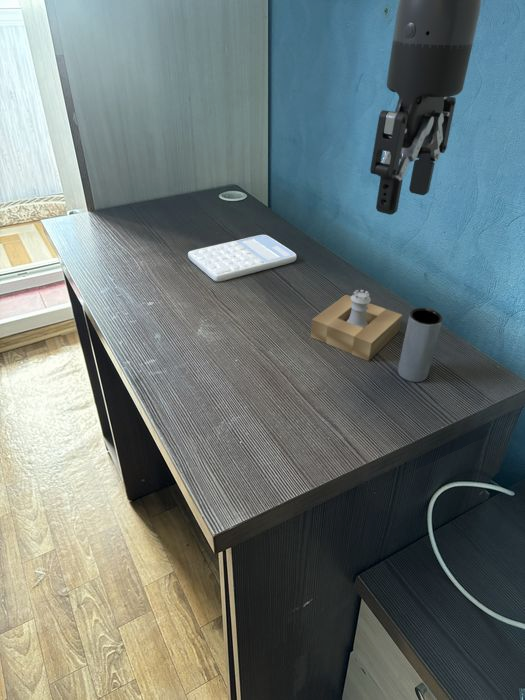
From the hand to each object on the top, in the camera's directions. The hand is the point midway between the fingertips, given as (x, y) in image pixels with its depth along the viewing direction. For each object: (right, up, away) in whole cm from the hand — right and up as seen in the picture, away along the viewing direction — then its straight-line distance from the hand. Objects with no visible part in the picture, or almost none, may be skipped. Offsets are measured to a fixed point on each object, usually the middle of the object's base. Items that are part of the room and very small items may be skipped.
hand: (403, 202), depth 59 cm
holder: (0, -14, +29) cm, 32 cm away
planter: (+7, -21, +20) cm, 30 cm away
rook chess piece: (0, -15, +28) cm, 32 cm away
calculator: (-20, +2, +51) cm, 55 cm away
